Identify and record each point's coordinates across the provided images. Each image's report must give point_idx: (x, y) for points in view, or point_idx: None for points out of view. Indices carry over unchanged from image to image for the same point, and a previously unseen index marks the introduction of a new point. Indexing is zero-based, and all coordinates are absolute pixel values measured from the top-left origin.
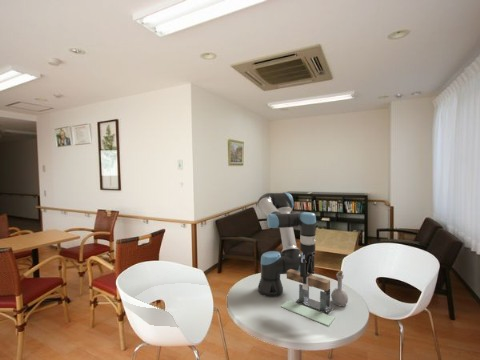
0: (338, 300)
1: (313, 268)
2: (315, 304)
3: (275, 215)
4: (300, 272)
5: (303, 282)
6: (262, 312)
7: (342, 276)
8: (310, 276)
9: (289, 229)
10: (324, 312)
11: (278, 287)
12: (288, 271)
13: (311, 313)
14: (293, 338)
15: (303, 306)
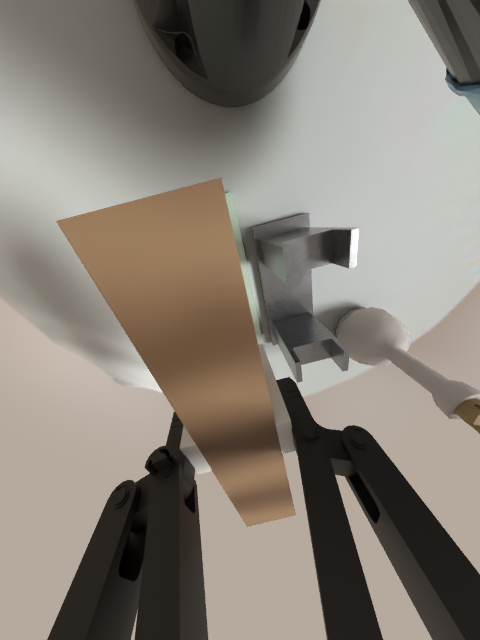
0: None
1: (361, 500)
2: (286, 295)
3: None
4: (77, 576)
5: (176, 419)
6: (46, 181)
7: (451, 417)
8: (245, 465)
9: None
10: (270, 334)
11: (231, 51)
12: (91, 260)
13: None
14: (100, 359)
15: (244, 275)
